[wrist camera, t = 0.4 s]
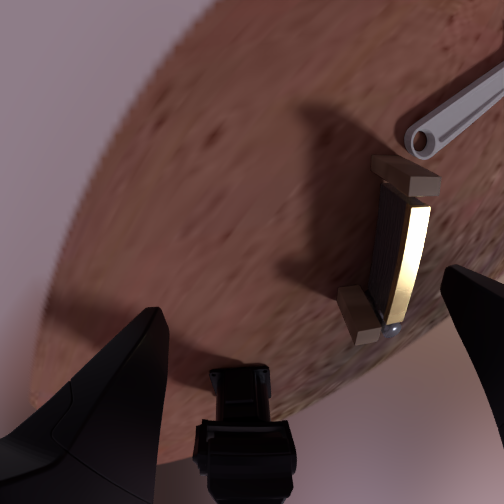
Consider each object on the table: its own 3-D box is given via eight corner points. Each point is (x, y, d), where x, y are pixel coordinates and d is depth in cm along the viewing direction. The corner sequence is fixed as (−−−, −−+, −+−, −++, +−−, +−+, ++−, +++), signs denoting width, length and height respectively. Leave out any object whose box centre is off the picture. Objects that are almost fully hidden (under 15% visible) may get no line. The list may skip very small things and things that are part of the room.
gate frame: (358, 301, 26) (379, 343, 21) (333, 301, 25) (351, 346, 21) (401, 156, 19) (443, 177, 14) (372, 149, 19) (412, 169, 14)
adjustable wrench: (408, 162, 20) (420, 168, 18) (373, 90, 17) (385, 90, 15) (543, 74, 13) (553, 76, 12) (524, 22, 10) (535, 23, 9)
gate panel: (378, 299, 25) (398, 335, 21) (362, 302, 25) (381, 339, 21) (396, 183, 19) (431, 207, 15) (378, 183, 19) (411, 208, 15)
